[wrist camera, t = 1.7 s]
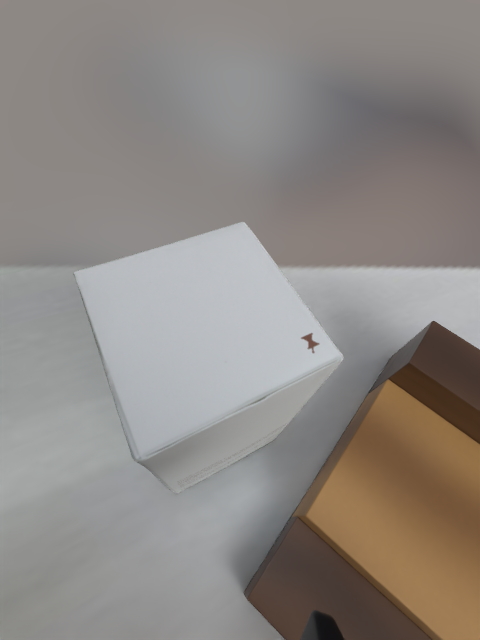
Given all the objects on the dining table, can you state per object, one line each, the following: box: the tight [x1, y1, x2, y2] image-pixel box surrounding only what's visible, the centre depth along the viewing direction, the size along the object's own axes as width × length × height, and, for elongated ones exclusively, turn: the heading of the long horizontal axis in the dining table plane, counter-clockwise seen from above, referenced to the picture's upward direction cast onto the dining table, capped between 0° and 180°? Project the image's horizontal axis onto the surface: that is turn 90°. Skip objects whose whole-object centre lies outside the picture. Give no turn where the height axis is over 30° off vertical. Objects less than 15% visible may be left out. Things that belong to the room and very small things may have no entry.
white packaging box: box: [74, 222, 344, 494], centre depth 17 cm, size 7×7×13 cm
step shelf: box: [244, 321, 480, 640], centre depth 18 cm, size 18×12×6 cm, turn 140°
